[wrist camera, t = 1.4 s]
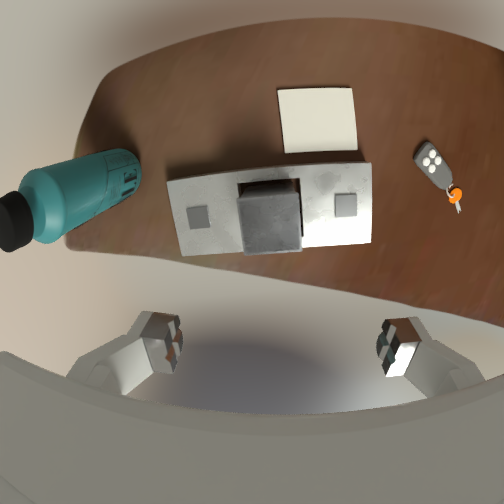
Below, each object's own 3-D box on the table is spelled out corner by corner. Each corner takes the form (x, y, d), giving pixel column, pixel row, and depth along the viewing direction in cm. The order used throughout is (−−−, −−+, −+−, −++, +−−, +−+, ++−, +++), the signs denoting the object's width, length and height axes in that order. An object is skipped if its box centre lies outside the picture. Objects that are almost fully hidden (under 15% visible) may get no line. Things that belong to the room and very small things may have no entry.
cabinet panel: (365, 161, 27) (372, 163, 25) (365, 236, 31) (371, 243, 29) (172, 178, 30) (165, 182, 28) (187, 249, 34) (181, 257, 32)
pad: (350, 88, 24) (351, 88, 24) (356, 149, 27) (357, 149, 27) (277, 90, 25) (277, 90, 25) (284, 152, 28) (285, 153, 28)
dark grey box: (293, 179, 29) (298, 193, 23) (297, 226, 31) (302, 251, 25) (245, 184, 30) (236, 199, 24) (251, 229, 32) (244, 255, 26)
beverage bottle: (104, 148, 29) (-27, 187, 11) (149, 143, 29) (12, 175, 10) (108, 197, 32) (-9, 267, 14) (152, 196, 31) (34, 275, 13)
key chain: (408, 160, 27) (413, 162, 26) (424, 139, 26) (430, 139, 24) (461, 226, 29) (466, 230, 28) (475, 207, 28) (481, 210, 27)
